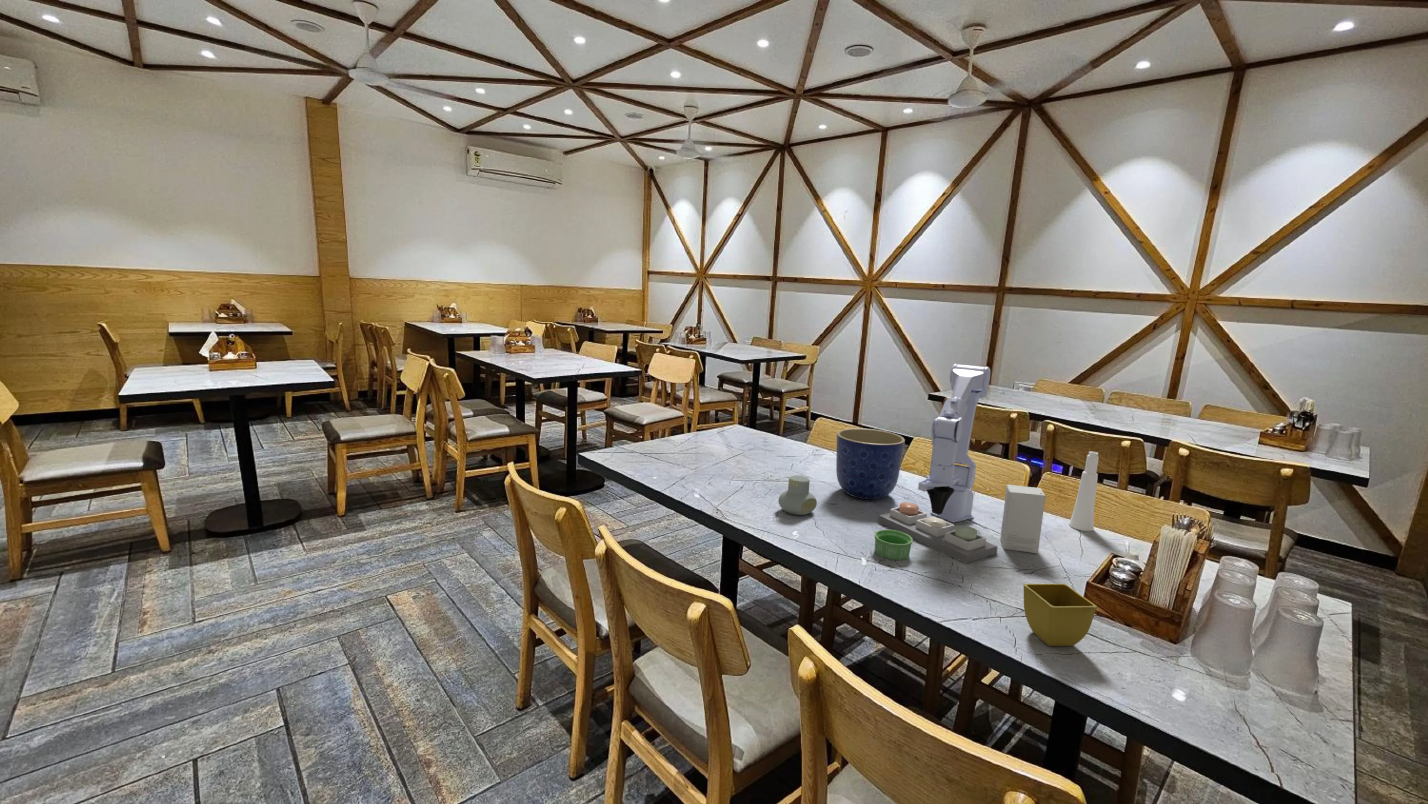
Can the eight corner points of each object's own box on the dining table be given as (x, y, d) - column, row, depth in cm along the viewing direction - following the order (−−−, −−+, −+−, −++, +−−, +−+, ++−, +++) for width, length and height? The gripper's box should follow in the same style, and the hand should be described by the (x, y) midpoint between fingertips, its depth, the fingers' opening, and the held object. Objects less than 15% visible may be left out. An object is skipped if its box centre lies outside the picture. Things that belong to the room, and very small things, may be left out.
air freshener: (795, 520, 162) (797, 485, 160) (773, 511, 168) (775, 477, 166) (820, 511, 169) (822, 478, 167) (798, 503, 175) (800, 471, 173)
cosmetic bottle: (1095, 527, 166) (1108, 452, 162) (1091, 533, 162) (1104, 456, 158) (1071, 521, 170) (1083, 448, 166) (1066, 526, 166) (1078, 451, 162)
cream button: (933, 524, 157) (934, 515, 157) (949, 531, 153) (950, 522, 153) (920, 527, 155) (921, 518, 154) (936, 534, 151) (937, 525, 150)
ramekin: (891, 564, 138) (893, 546, 137) (865, 549, 145) (866, 532, 145) (919, 557, 142) (920, 540, 141) (892, 543, 150) (893, 527, 149)
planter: (906, 492, 189) (912, 435, 186) (888, 510, 172) (894, 448, 169) (845, 479, 200) (849, 425, 197) (822, 495, 183) (826, 436, 180)
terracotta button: (907, 509, 165) (908, 501, 164) (921, 515, 161) (922, 507, 160) (894, 512, 162) (895, 503, 162) (909, 518, 158) (910, 509, 158)
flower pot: (1015, 625, 113) (1022, 582, 112) (1058, 625, 114) (1065, 582, 112) (1044, 653, 105) (1052, 607, 103) (1090, 652, 106) (1098, 606, 104)
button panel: (907, 515, 169) (909, 502, 168) (996, 553, 146) (998, 538, 145) (878, 521, 163) (879, 508, 162) (965, 563, 140) (967, 547, 139)
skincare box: (1033, 544, 152) (1042, 487, 149) (1038, 555, 146) (1047, 495, 143) (998, 539, 155) (1006, 483, 152) (1001, 549, 149) (1010, 490, 146)
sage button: (962, 532, 150) (964, 524, 149) (980, 540, 145) (981, 531, 145) (950, 536, 147) (951, 527, 147) (967, 543, 143) (968, 534, 142)
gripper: (948, 456, 158) (942, 503, 160) (911, 462, 150) (905, 512, 153) (971, 463, 152) (964, 512, 154) (933, 469, 144) (927, 521, 147)
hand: (936, 513), depth 153 cm, fingers closed
